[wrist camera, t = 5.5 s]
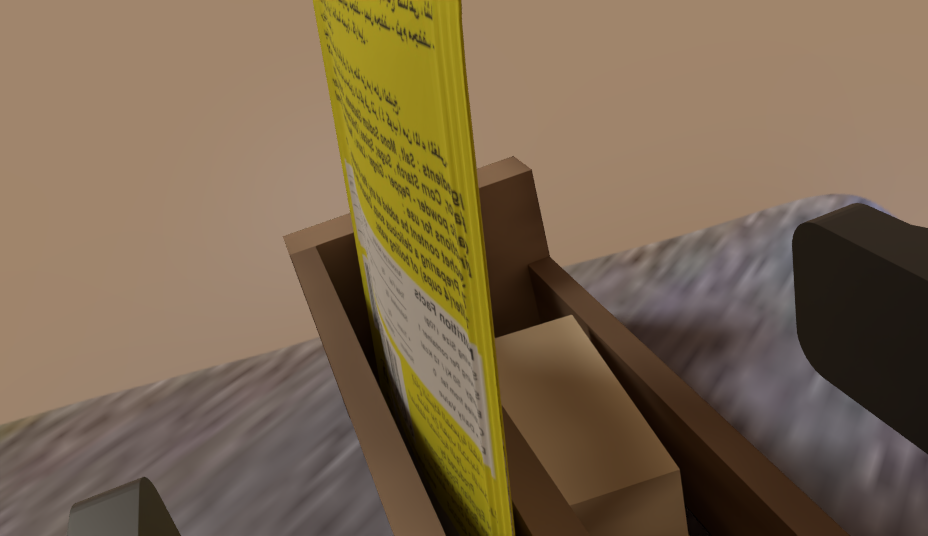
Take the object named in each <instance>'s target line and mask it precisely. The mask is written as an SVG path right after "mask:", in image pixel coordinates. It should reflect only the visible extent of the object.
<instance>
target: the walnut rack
mask: <svg viewBox="0 0 928 536" xmlns="http://www.w3.org/2000/svg"><path fill="white" fill-rule="evenodd" d="M477 177H478V186H479V196H480V205H481V214H482V223H483V233H484V242H485V251H486V261H487V270H488V279H489V289H490V298H491V308H492V317H493V327H494V337H495V338H498V337H501V336H504V335H508V334H511V333H514V332H517V331H521V330H524V329H527V328H530V327H533V326H537V325H540V324H543V323H546V322H550V321H553V320H556V319H559V318H563V317H566V316H569V315H573V317H574V318H575V320H576V321H577V323H578V324H579V325H580V327H581V328H582V330H583V331H584V333H585V334H586V336H587V337H588V338H589V340H590V341H591V343H592V344H593V346H594V347H595V348H596V350H597V351H598V353H599V354H600V356H601V357H602V358H603V360H604V361H605V363H606V364H607V366H608V367H609V369H610V370H611V371H612V373H613V374H614V376H615V377H616V379H617V380H618V381H619V383H620V384H621V386H622V387H623V389H624V390H625V391H626V393H627V394H628V396H629V397H630V399H631V400H632V402H633V403H634V404H635V406H636V407H637V409H638V410H639V412H640V413H641V414H642V416H643V417H644V419H645V420H646V422H647V423H648V425H649V426H650V427H651V429H652V430H653V432H654V433H655V435H656V436H657V437H658V439H659V440H660V442H661V443H662V445H663V446H664V447H665V449H666V450H667V452H668V453H669V455H670V456H671V458H672V459H673V460H674V462H675V463H676V465H677V466H678V468H679V469H680V476H681V483H682V491H683V498H684V504H685V505H686V506H687V507H688V509H689V510H690V511H691V512H692V513H693V514H694V516H695V517H696V518H697V519H698V520H699V521H700V522H701V524H702V525H703V526H704V527H705V528H706V529H707V531H708V532H709V533H710V534H711V535H712V536H850V535H849V534H848V533H847V532H846V531H845V530H843V529H842V528H841V527H840V526H839V525H838V524H837V523H836V522H835V521H834V520H833V519H832V518H831V517H829V516H828V515H827V514H826V513H825V512H824V511H823V510H822V509H821V508H820V507H819V506H818V505H817V504H815V503H814V502H813V501H812V500H811V499H810V498H809V497H808V496H807V495H806V494H805V493H804V492H803V491H801V490H800V489H799V488H798V487H797V486H796V485H795V484H794V483H793V482H792V481H791V480H790V479H789V478H787V477H786V476H785V475H784V474H783V473H782V472H781V471H780V470H779V469H778V468H777V467H776V466H775V465H773V464H772V463H771V462H770V461H769V460H768V459H767V458H766V457H765V456H764V455H763V454H762V453H761V452H759V451H758V450H757V449H756V448H755V447H754V446H753V445H752V444H751V443H750V442H749V441H748V440H747V439H745V438H744V437H743V436H742V435H741V434H740V433H739V432H738V431H737V430H736V429H735V428H734V427H733V426H731V425H730V424H729V423H728V422H727V421H726V420H725V419H724V418H723V417H722V416H721V415H720V414H719V413H717V412H716V411H715V410H714V409H713V408H712V407H711V406H710V405H709V404H708V403H707V402H706V401H705V400H703V399H702V398H701V397H700V396H699V395H698V394H697V393H696V392H695V391H694V390H693V389H692V388H691V387H689V386H688V385H687V384H686V383H685V382H684V381H683V380H682V379H681V378H680V377H679V376H678V375H676V374H675V373H674V372H673V371H672V370H671V369H670V368H669V367H668V366H667V365H666V364H665V363H664V362H662V361H661V360H660V359H659V358H658V357H657V356H656V355H655V354H654V353H653V352H652V351H651V350H650V349H648V348H647V347H646V346H645V345H644V344H643V343H642V342H641V341H640V340H639V339H638V338H637V337H636V336H634V335H633V334H632V333H631V332H630V331H629V330H628V329H627V328H626V327H625V326H624V325H623V324H622V323H620V322H619V321H618V320H617V319H616V318H615V317H614V316H613V315H612V314H611V313H610V312H609V311H608V310H606V309H605V308H604V307H603V306H602V305H601V304H600V303H599V302H598V301H597V300H596V299H595V298H594V297H592V296H591V295H590V294H589V293H588V292H587V291H586V290H585V289H584V288H583V287H582V286H581V285H580V284H578V283H577V282H576V281H575V280H574V279H573V278H572V277H571V276H570V275H569V274H568V273H567V272H566V271H564V270H563V269H562V268H561V267H560V266H559V265H558V264H557V263H556V262H555V261H554V260H552V259H551V258H550V255H549V250H548V245H547V241H546V236H545V231H544V226H543V221H542V217H541V212H540V207H539V203H538V198H537V194H536V188H535V184H534V179H533V174H532V169H530V168H529V167H527V166H526V165H525V164H523V163H522V162H521V161H519V160H518V159H517V158H515V157H514V156H512V157H509V158H507V159H504V160H501V161H498V162H495V163H492V164H490V165H487V166H484V167H481V168H478V169H477ZM283 238H284V241H285V244H286V247H287V249H288V252H289V255H290V257H291V260H292V263H293V265H294V268H295V271H296V273H297V276H298V279H299V282H300V284H301V287H302V290H303V293H304V295H305V298H306V300H307V303H308V306H309V309H310V311H311V314H312V317H313V320H314V322H315V325H316V328H317V330H318V333H319V336H320V338H321V341H322V344H323V347H324V349H325V352H326V355H327V357H328V360H329V363H330V365H331V368H332V371H333V374H334V376H335V379H336V382H337V384H338V387H339V390H340V392H341V395H342V398H343V401H344V403H345V406H346V409H347V411H348V414H349V417H350V419H351V421H352V423H353V426H354V429H355V432H356V434H357V437H358V440H359V442H360V445H361V448H362V450H363V453H364V456H365V459H366V461H367V464H368V467H369V469H370V472H371V475H372V477H373V480H374V483H375V486H376V488H377V491H378V494H379V496H380V499H381V502H382V504H383V507H384V510H385V513H386V515H387V518H388V521H389V523H390V526H391V529H392V531H393V534H394V536H446V535H445V533H444V530H443V528H442V526H441V524H440V521H439V519H438V517H437V515H436V513H435V510H434V508H433V506H432V504H431V501H430V499H429V497H428V495H427V493H426V490H425V488H424V486H423V484H422V482H421V479H420V477H419V475H418V473H417V470H416V468H415V466H414V464H413V462H412V459H411V457H410V455H409V453H408V450H407V448H406V446H405V444H404V442H403V439H402V437H401V435H400V433H399V430H398V428H397V426H396V424H395V422H394V419H393V417H392V415H391V413H390V411H389V408H388V406H387V404H386V402H385V399H384V397H383V395H382V392H381V387H380V381H379V375H378V369H377V363H376V358H375V352H374V346H373V340H372V334H371V329H370V323H369V317H368V311H367V305H366V300H365V294H364V288H363V283H362V277H361V271H360V265H359V260H358V254H357V248H356V243H355V237H354V231H353V226H352V220H351V214H350V213H349V214H346V215H343V216H340V217H337V218H334V219H332V220H329V221H326V222H323V223H320V224H317V225H315V226H311V227H309V228H306V229H303V230H300V231H297V232H294V233H291V234H289V235H286V236H283ZM502 414H503V423H504V433H505V443H506V452H507V462H508V471H509V481H510V491H511V500H512V510H513V520H514V529H515V536H590V535H589V533H588V532H587V530H586V529H585V527H584V526H583V524H582V523H581V521H580V520H579V519H578V517H577V516H576V514H575V513H574V511H573V510H572V508H571V507H570V505H569V504H568V502H567V501H566V499H565V498H564V496H563V495H562V493H561V492H560V490H559V489H558V487H557V486H556V484H555V483H554V481H553V480H552V478H551V477H550V476H549V474H548V473H547V471H546V470H545V468H544V467H543V465H542V464H541V462H540V461H539V459H538V458H537V456H536V455H535V453H534V452H533V450H532V449H531V447H530V446H529V444H528V443H527V441H526V440H525V438H524V437H523V435H522V434H521V433H520V431H519V430H518V428H517V427H516V425H515V424H514V422H513V421H512V419H511V418H510V416H509V415H508V413H507V412H506V410H505V409H504V407H503V406H502Z"/></svg>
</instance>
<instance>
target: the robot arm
mask: <svg viewBox="0 0 928 536" xmlns="http://www.w3.org/2000/svg"><path fill="white" fill-rule="evenodd" d="M792 252H793V271H794V289H795V307H796V325H797V334H798V339H799V342H800V345H801V348H802V350H803V352H804V354H805V356H806V358H807V359H808V361H809V362H810V364H811V365H812V366H813V368H814V369H815V370H816V371H817V372H818V373H819V374H820V375H821V376H822V377H823V378H825V379H826V380H827V381H829V382H830V383H831V384H833V385H834V386H835V387H837V388H838V389H840V390H841V391H842V392H844V393H845V394H846V395H848V396H849V397H850V398H852V399H853V400H855V401H856V402H857V403H859V404H860V405H861V406H863V407H864V408H865V409H867V410H868V411H870V412H871V413H872V414H874V415H875V416H876V417H878V418H879V419H880V420H882V421H883V422H885V423H886V424H887V425H889V426H890V427H891V428H893V429H894V430H895V431H897V432H898V433H900V434H901V435H902V436H904V437H905V438H906V439H908V440H909V441H910V442H912V443H913V444H914V445H916V446H917V447H919V448H920V449H921V450H923V451H924V452H925V453H927V454H928V228H925V227H920V226H914V225H910V224H908V223H906V222H904V221H901V220H899V219H897V218H895V217H892V216H890V215H888V214H886V213H884V212H881V211H879V210H877V209H875V208H872V207H870V206H868V205H865V204H861V203H855V204H851V205H848V206H846V207H843V208H841V209H838V210H835V211H833V212H830V213H828V214H825V215H823V216H820V217H817V218H815V219H812V220H810V221H807V222H804V223H802V224H800V225H799V226H798V227H797V228H796V230H795V232H794V234H793V239H792ZM67 536H181V535H180V533H179V531H178V529H177V528H176V526H175V524H174V522H173V520H172V518H171V516H170V514H169V512H168V510H167V509H166V507H165V505H164V503H163V501H162V499H161V497H160V495H159V493H158V492H157V490H156V488H155V487H154V485H153V484H152V482H151V481H150V480H149V479H148V478H146V477H142V478H139V479H137V480H134V481H132V482H129V483H126V484H124V485H121V486H119V487H116V488H113V489H111V490H108V491H106V492H103V493H101V494H98V495H95V496H93V497H90V498H88V499H85V500H82V501H80V502H77V503H75V504H74V505H73V506H72V508H71V510H70V515H69V522H68V530H67Z"/></svg>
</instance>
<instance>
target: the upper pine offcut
mask: <svg viewBox="0 0 928 536" xmlns="http://www.w3.org/2000/svg"><path fill="white" fill-rule="evenodd" d="M495 346H496V356H497V366H498V375H499V385H500V394H501V404H502V406H503V407H504V409H505V410H506V412H507V413H508V415H509V416H510V418H511V419H512V421H513V422H514V424H515V425H516V427H517V428H518V430H519V431H520V433H521V434H522V435H523V437H524V438H525V440H526V441H527V443H528V444H529V446H530V447H531V449H532V450H533V452H534V453H535V455H536V456H537V458H538V459H539V461H540V462H541V464H542V465H543V467H544V468H545V470H546V471H547V473H548V474H549V476H550V477H551V478H552V480H553V481H554V483H555V484H556V486H557V487H558V489H559V490H560V492H561V493H562V495H563V496H564V498H565V499H566V501H567V502H568V504H569V505H570V507H571V508H572V510H573V511H574V513H575V514H576V516H577V517H578V519H579V520H580V521H581V523H582V524H583V526H584V527H585V529H586V530H587V532H588V533H589V535H590V536H688V529H687V521H686V513H685V506H684V498H683V491H682V483H681V476H680V469H679V468H678V466H677V465H676V463H675V462H674V460H673V459H672V458H671V456H670V455H669V453H668V452H667V450H666V449H665V447H664V446H663V445H662V443H661V442H660V440H659V439H658V437H657V436H656V435H655V433H654V432H653V430H652V429H651V427H650V426H649V425H648V423H647V422H646V420H645V419H644V417H643V416H642V414H641V413H640V412H639V410H638V409H637V407H636V406H635V404H634V403H633V402H632V400H631V399H630V397H629V396H628V394H627V393H626V391H625V390H624V389H623V387H622V386H621V384H620V383H619V381H618V380H617V379H616V377H615V376H614V374H613V373H612V371H611V370H610V369H609V367H608V366H607V364H606V363H605V361H604V360H603V358H602V357H601V356H600V354H599V353H598V351H597V350H596V348H595V347H594V346H593V344H592V343H591V341H590V340H589V338H588V337H587V336H586V334H585V333H584V331H583V330H582V328H581V327H580V325H579V324H578V323H577V321H576V320H575V318H574V317H573V315H569V316H566V317H563V318H559V319H556V320H553V321H550V322H546V323H543V324H540V325H537V326H533V327H530V328H527V329H524V330H521V331H517V332H514V333H511V334H508V335H504V336H501V337H498V338H495Z"/></svg>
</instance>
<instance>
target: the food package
mask: <svg viewBox="0 0 928 536" xmlns="http://www.w3.org/2000/svg"><path fill="white" fill-rule="evenodd" d="M313 4H314V10H315V16H316V21H317V27H318V32H319V38H320V43H321V49H322V55H323V61H324V67H325V72H326V77H327V83H328V89H329V95H330V100H331V106H332V112H333V117H334V123H335V129H336V134H337V140H338V146H339V151H340V157H341V163H342V169H343V174H344V180H345V185H346V191H347V197H348V203H349V208H350V214H351V220H352V226H353V231H354V237H355V243H356V248H357V254H358V260H359V265H360V271H361V277H362V283H363V288H364V294H365V300H366V305H367V311H368V317H369V323H370V329H371V334H372V340H373V346H374V352H375V358H376V363H377V369H378V375H379V381H380V387H381V392H382V395H383V397H384V399H385V402H386V404H387V406H388V408H389V411H390V413H391V415H392V417H393V419H394V422H395V424H396V426H397V428H398V430H399V433H400V435H401V437H402V439H403V442H404V444H405V446H406V448H407V450H408V453H409V455H410V457H411V459H412V462H413V464H414V466H415V468H416V470H417V473H418V475H419V477H420V479H421V482H422V484H423V486H424V488H425V490H426V493H427V495H428V497H429V499H430V501H431V504H432V506H433V508H434V510H435V513H436V515H437V517H438V519H439V521H440V524H441V526H442V528H443V530H444V533H445V535H446V536H515V529H514V520H513V510H512V500H511V491H510V481H509V471H508V462H507V452H506V443H505V433H504V423H503V414H502V404H501V394H500V385H499V375H498V366H497V356H496V346H495V337H494V327H493V317H492V308H491V298H490V289H489V279H488V270H487V261H486V251H485V242H484V233H483V223H482V214H481V205H480V196H479V186H478V177H477V168H476V159H475V150H474V140H473V130H472V122H471V112H470V103H469V93H468V86H467V85H468V84H467V75H466V64H465V52H464V40H463V29H462V4H461V0H313Z"/></svg>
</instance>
